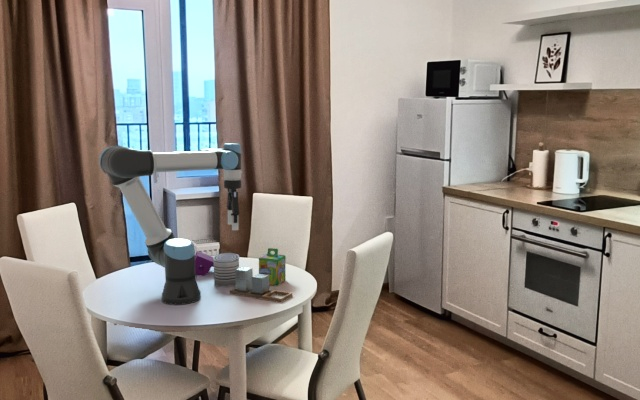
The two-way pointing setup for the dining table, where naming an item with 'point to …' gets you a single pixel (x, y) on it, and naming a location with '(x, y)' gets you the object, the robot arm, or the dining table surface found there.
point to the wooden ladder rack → (266, 296)
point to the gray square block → (260, 284)
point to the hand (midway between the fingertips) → (233, 227)
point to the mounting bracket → (203, 263)
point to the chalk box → (273, 266)
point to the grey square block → (243, 279)
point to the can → (225, 269)
